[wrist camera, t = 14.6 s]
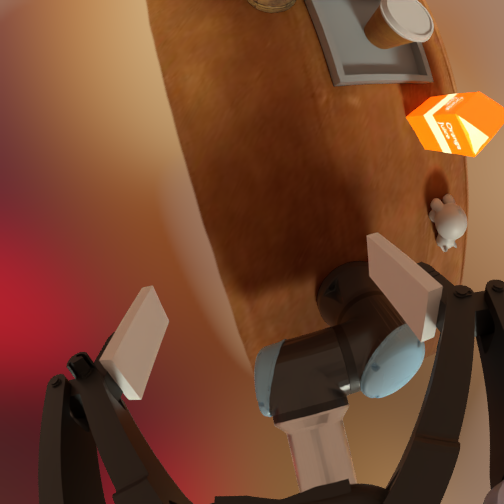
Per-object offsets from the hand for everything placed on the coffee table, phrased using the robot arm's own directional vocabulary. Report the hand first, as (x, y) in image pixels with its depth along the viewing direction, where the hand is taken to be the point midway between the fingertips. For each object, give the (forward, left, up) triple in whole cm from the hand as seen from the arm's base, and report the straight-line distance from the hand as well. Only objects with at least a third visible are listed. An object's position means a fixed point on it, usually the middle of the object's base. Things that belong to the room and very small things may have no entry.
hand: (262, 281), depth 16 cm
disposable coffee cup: (+25, -30, -31) cm, 50 cm away
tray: (+25, -28, -32) cm, 49 cm away
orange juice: (+7, -37, -32) cm, 49 cm away
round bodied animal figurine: (-14, -37, -32) cm, 51 cm away
